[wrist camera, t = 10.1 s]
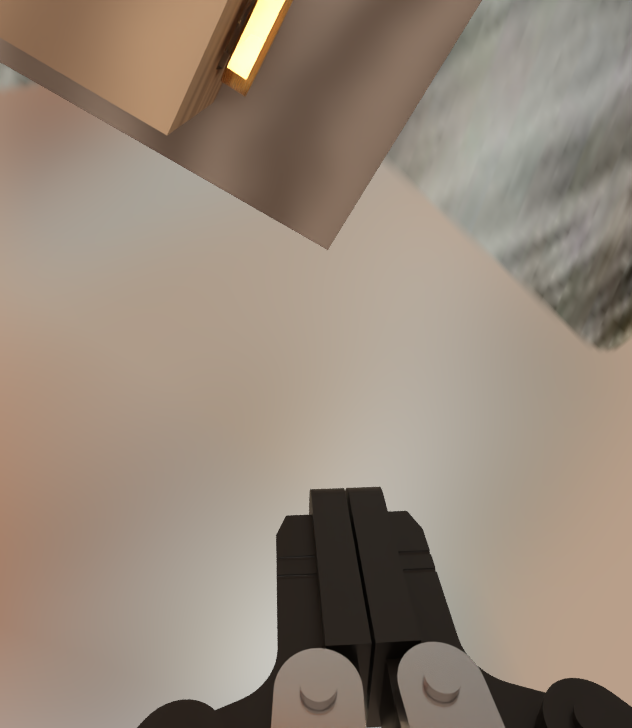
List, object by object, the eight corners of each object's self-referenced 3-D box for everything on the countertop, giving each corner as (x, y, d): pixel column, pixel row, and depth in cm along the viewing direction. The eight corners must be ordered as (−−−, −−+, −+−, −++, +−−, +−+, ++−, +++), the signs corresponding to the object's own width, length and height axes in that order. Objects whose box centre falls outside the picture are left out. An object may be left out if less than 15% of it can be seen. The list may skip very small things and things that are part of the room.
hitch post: (477, -3, 31) (678, -66, 16) (326, 244, 37) (364, 371, 22) (87, -320, 24) (-222, -965, 9) (-20, 45, 30) (-312, 28, 15)
